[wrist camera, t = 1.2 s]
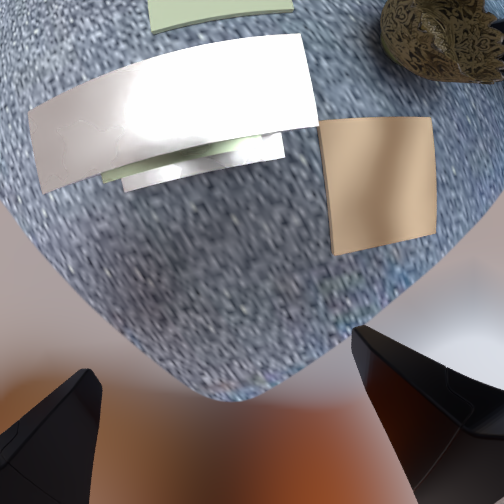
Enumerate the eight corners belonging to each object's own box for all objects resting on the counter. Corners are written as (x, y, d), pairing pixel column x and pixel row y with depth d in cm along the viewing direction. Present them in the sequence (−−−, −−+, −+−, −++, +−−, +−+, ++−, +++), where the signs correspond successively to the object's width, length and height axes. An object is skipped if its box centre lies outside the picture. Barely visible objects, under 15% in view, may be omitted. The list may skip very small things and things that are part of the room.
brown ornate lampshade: (359, 87, 16) (432, 65, 8) (343, -3, 13) (397, -55, 6) (440, 99, 16) (518, 96, 9) (425, 17, 14) (491, -8, 6)
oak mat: (426, 117, 17) (431, 117, 16) (431, 231, 20) (435, 233, 19) (315, 121, 17) (318, 120, 16) (331, 252, 20) (334, 255, 19)
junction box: (268, 81, 16) (312, 19, 6) (282, 157, 17) (341, 173, 8) (113, 117, 15) (16, 105, 6) (128, 190, 17) (45, 239, 8)
